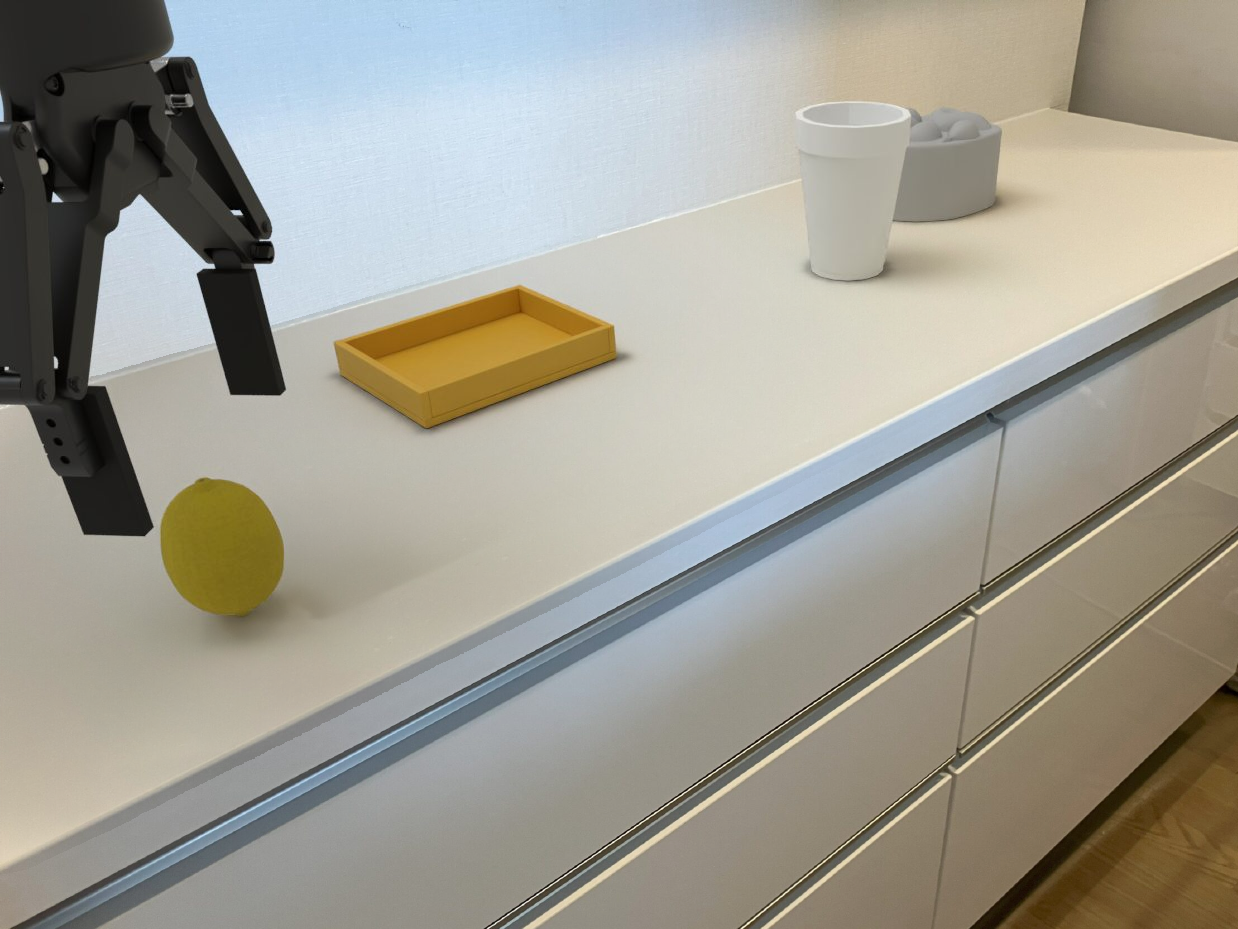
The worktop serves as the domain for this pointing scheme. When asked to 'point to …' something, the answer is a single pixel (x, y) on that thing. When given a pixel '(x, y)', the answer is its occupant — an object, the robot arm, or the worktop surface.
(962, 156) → the lumpy-topped squat cylinder
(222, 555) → the lemon
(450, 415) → the yellow tray
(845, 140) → the foam cup
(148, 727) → the worktop surface
